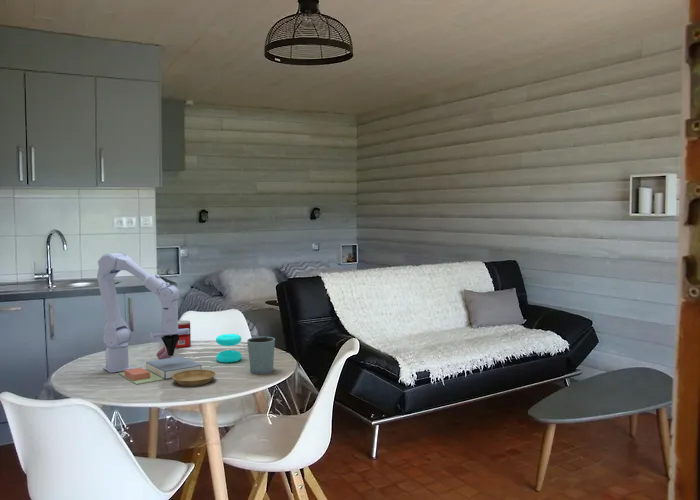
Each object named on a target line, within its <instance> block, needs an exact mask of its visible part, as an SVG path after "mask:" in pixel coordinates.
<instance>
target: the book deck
mask: <svg viewBox="0 0 700 500" xmlns="http://www.w3.org/2000/svg"><path fill="white" fill-rule="evenodd" d="M202 367H203V366H202V364H200V363H198V362H196V361H194V360H191V359H189V358H186V357H184V356H181V355H180V356H172V357H169V358H166V359H160V360H158V359H155V360H149V361H145V369H146V370H148V371H150V372H152V373H153V374H155V375H157V376H159V377H161V378H163V380H168V379H173V378H172V376H173V375H174V374H176V373H179V372H183V371H189V370H203V368H202Z"/></svg>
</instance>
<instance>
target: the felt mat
mask: <svg viewBox="0 0 700 500" xmlns="http://www.w3.org/2000/svg"><path fill="white" fill-rule="evenodd" d="M144 369H145V370H146V368H144ZM147 371H148V370H147ZM149 372H150V371H149ZM118 374H119V375H120V376H122V377H123V378H125V379H127V380H128V381H130V382H132V383H133V384H135V385H137V386H138V385H143V384H148V383H154V382H159V381H163V380H164V379H163V378H161V377H159V376H157V375H155V374H154V373H152V372H150V378H146V379H141V380H135V381H133V380H131V379H130V378H128V377H126V376H125V374H124V371H121V372H118Z"/></svg>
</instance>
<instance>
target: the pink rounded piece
mask: <svg viewBox="0 0 700 500" xmlns="http://www.w3.org/2000/svg"><path fill="white" fill-rule="evenodd" d="M156 358H158V359H157V360H160V359H166V358H171V356H169V355H168V353H167V349H166V346H165V345H164V346H163V347H162V348H160V350H158V351H157V353H156Z"/></svg>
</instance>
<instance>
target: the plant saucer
mask: <svg viewBox="0 0 700 500" xmlns="http://www.w3.org/2000/svg"><path fill="white" fill-rule="evenodd" d="M216 375H217V373H216V372H215V371H213V370H209V369H202V370H189V371H183V372H179V373H176V374H174V375H173V376H172V378H171V379H173V380H174V382H175V383H177V384H178V385H180V386H185V387H195V386H196V387H197V386H202V385H205V384H208V383H210V382H211V381H212V380H213V379H214V378H215V376H216Z"/></svg>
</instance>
